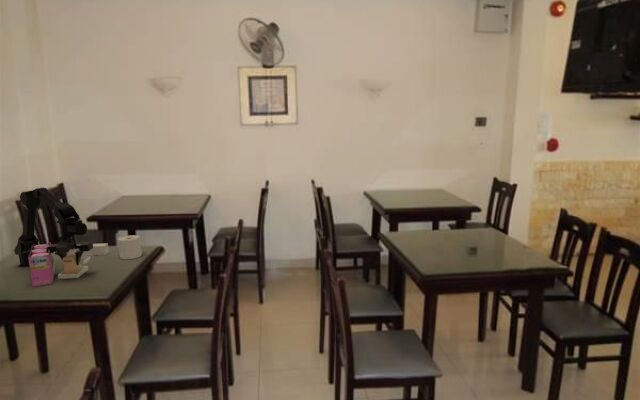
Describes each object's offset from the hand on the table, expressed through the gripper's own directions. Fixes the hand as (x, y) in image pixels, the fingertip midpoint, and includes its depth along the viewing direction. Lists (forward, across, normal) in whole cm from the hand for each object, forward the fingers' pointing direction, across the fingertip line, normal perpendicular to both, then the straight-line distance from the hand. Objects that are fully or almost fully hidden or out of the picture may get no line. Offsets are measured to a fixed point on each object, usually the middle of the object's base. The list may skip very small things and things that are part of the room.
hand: (72, 265), depth 214 cm
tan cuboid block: (+3, 0, 0) cm, 3 cm away
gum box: (+5, -12, -2) cm, 13 cm away
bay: (+4, -4, +24) cm, 24 cm away
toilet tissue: (+5, +18, +24) cm, 30 cm away
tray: (+4, 0, 0) cm, 4 cm away
